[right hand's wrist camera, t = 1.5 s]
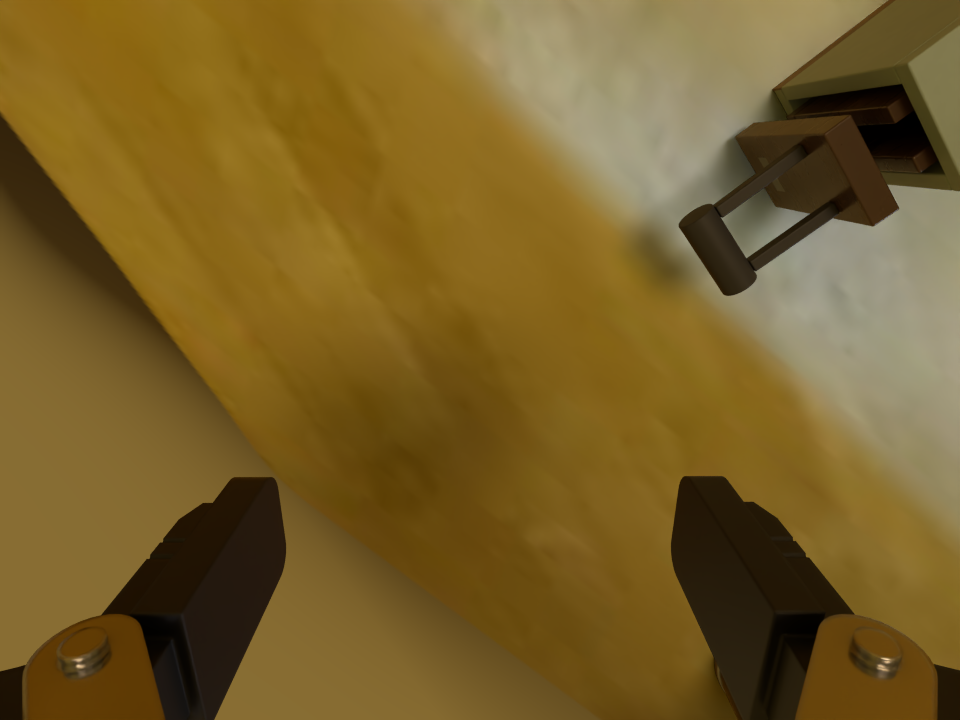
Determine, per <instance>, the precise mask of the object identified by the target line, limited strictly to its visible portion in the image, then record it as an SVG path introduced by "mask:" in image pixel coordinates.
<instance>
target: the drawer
mask: <svg viewBox="0 0 960 720" xmlns="http://www.w3.org/2000/svg"><path fill="white" fill-rule="evenodd" d="M787 119H788V120H782V121H770V122H758V123H753V124H752V125H750V126H749V127H748V128H746V129H745V130H744V131H742V132H741V133H740V134H738V135H737V136H736V137H735V139H736V140H737V142H738V144H739V145H740V147H741V149H742V150H743V152H744V154H745V156H746V157H747V159H748V161H749V162H750V164H751V166H752V167H753V169H754V171H755V172H756V174H755V175H753V176H752V177H751V178H749V179H748V180H747V181H745V182H744V183H743V184H741V185H740V186H738V187H737V188H736V189H734V190H733V191H732V192H730V193H729V194H728V195H726V196H725V197H723V198H722V199H721V200H719V201H718V202H717V203H715V204H714V205H712V204H706V205H703V206H700V207H698V208H696V209H695V210H693V211H692V212H690V213H689V214H687V215H686V216H685V217H684V218H683V219H682V220H681V221H680V223H679V228H680V229H681V231H682V232H683V234H684V235H685V237H686V238H687V240H688V241H689V243H690V244H691V246H692V247H693V249H694V250H695V252H696V254H697V255H698V257H699V258H700V260H701V261H702V263H703V264H704V266H705V267H706V269H707V270H708V272H709V273H710V275H711V276H712V278H713V279H714V281H715V282H716V284H717V286H718V287H719V289H720V290H721V292H722V293H723V294H724V295H726V296H731V295H735V294H738V293H740V292H742V291H744V290H746V289H747V288H749V287H750V286H751V285H752V284H753V283H754V282H755V280H756V278H757V275H756V273H755V272H754V271H757V270H759V269H760V268H762V267H763V266H764V265H766V264H767V263H769V262H770V261H772V260H773V259H775V258H776V257H777V256H779V255H780V254H782V253H783V252H785V251H786V250H788V249H789V248H790V247H792V246H793V245H795V244H796V243H798V242H799V241H801V240H802V239H803V238H805V237H806V236H808V235H809V234H811V233H812V232H814V231H815V230H816V229H818V228H819V227H821V226H822V225H824V224H825V223H827V222H828V221H829V220H831V219H832V218H834V219H839V220H844V221H849V222H854V223H859V224H863V225H868V226H875V225H877V224H878V223H880V222H881V221H882V220H884V219H885V218H887V217H888V216H890V215H891V214H893V213H894V212H896V211H897V210H898V209H899V207H898V205H897V203H896V201H895V199H894V197H893V195H892V193H891V191H890V189H889V188H888V186H887V184H886V182H885V180H884V178H883V176H882V174H881V172H880V171H896V172H913V173H920V172H922V171H924V170H925V169H927V168H928V167H929V166H931V165H932V164H934V163H935V162H937V161H938V158H937V156H936V154H935V152H934V150H933V147H932V145H931V143H930V141H929V139H928V137H927V135H926V133H925V131H924V129H923V127H922V124H921V122H920V120H919V118H918V116H917V114H916V112H915V110H914V108H913V106H912V104H911V101H910V99H909V97H908V95H907V93H906V91H905V89H904V87H903V85H902V84H898V85H891V86H884V87H877V88H871V89H864V90H857V91H850V92H843V93H836V94H830V95H823V96H816V97H812V98H810V99H809V100H808V101H806V102H805V103H804V104H802V105H801V106H800V107H798V108H797V109H796V110H794V111H793V112H792V113H790V114H789V115H788V116H787ZM763 188H765V189H766V191H767V193H768V194H769V196H770V198H771V200H772V201H773V203H774V205H775V206H776V207H780V208H785V209H790V210H795V211H800V212H805V213H809V215H808V216H806V217H805V218H804V219H802V220H801V221H799V222H798V223H796V224H795V225H794V226H792V227H791V228H789V229H788V230H786V231H785V232H784V233H782V234H781V235H779V236H778V237H776V238H775V239H774V240H772V241H771V242H769V243H768V244H766V245H765V246H764V247H762V248H761V249H759V250H758V251H756V252H755V253H754V254H752V255H751V256H749V257H748V258H746V257H745V256H744V254H743V252H742V251H741V249H740V248H739V246H738V244H737V243H736V241H735V240H734V238H733V237H732V235H731V233H730V232H729V230H728V229H727V227H726V225H725V224H724V222H723V221H722V219H721V217H724V216H726V215H727V214H728V213H730V212H731V211H733V210H734V209H735V208H737V207H738V206H739V205H741V204H742V203H744V202H745V201H746V200H748V199H749V198H750V197H752V196H753V195H755V194H756V193H757V192H759V191H760V190H762V189H763Z"/></svg>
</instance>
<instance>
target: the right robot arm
mask: <svg viewBox="0 0 960 720" xmlns="http://www.w3.org/2000/svg"><path fill="white" fill-rule="evenodd" d="M671 555H672V562H673V567H674V571H675V574H676V576H677V578H678V580H679V583H680V585H681V587H682V589H683V591H684V593H685V596H686V598H687V600H688V602H689V604H690V606H691V609H692V611H693V613H694V615H695V617H696V620H697V622H698V624H699V626H700V628H701V630H702V633H703V635H704V637H705V639H706V641H707V643H708V646H709V648H710V650H711V652H712V654H713V656H714V659H715V672H716V676H717V679H718V681H719V683H720V685H721V687H722V689H723V690H724V692H725V693H726V695H727V697H728V700H729V702H730V704H731V706H732V708H733V711H734V713H735V715H736V717H737V719H738V720H960V670H956V669H952V668H947V667H943V666H939V665H935V664H933V662H932V661H931V659H930V658H929V656H928V655H927V654H926V653H925V652H924V650H923V649H921V648H920V647H919V646H918V645H917V644H916V643H915V642H914V641H912V640H911V639H910V638H909V637H907V636H906V635H904V634H903V633H901V632H900V631H898V630H896V629H894V628H892V627H891V626H889V625H886V624H884V623H882V622H880V621H877V620H874V619H871V618H868V617H864V616H860V615H855V614H854V613H853V612H852V610H851V609H850V608H849V607H848V605H847V604H846V603H845V602H844V600H843V599H842V598H841V597H840V595H839V594H838V593H837V592H836V590H835V589H834V588H833V587H832V585H831V584H830V583H829V582H828V581H827V579H826V578H825V577H824V576H823V574H822V573H821V572H820V571H819V569H818V568H817V567H816V566H815V564H814V563H813V562H812V561H811V559H810V558H806V553H805V552H804V551H803V549H802V548H801V547H800V546H799V545H798V543H797V542H796V541H793V537H792V536H791V535H790V533H789V532H788V531H787V530H786V528H785V527H784V526H783V525H782V523H781V522H780V521H779V520H778V518H776V517H775V516H773V515H772V514H770V513H769V512H767V511H766V510H765V509H763V508H762V507H760V506H759V505H757V504H756V503H754V502H743V500H742V499H741V498H740V496H739V495H738V494H737V492H736V491H735V490H734V488H733V487H732V486H731V484H730V483H729V482H728V480H727V479H726V478H725V477H723V476H684V477H683V478H682V479H681V481H680V484H679V490H678V497H677V504H676V511H675V518H674V526H673V533H672V540H671ZM285 557H286V540H285V534H284V527H283V520H282V512H281V505H280V499H279V491H278V486H277V483H276V480H275V479H274V478H272V477H234V478H232V479H231V480H230V481H229V482H228V483H227V485H226V486H225V488H224V489H223V490H222V491H221V493H220V494H219V495H218V497H217V498H216V499H215V501H214V502H213V503H202V504H201V505H199V506H198V507H197V508H195V509H194V510H192V511H191V512H189V513H188V514H186V515H185V516H183V517H182V518H180V519H179V520H178V521H177V523H176V524H175V525H174V526H173V527H172V529H171V530H170V531H169V532H168V534H167V535H166V536H165V537H164V539H163V543H159V545H158V546H157V547H156V548H155V550H154V551H153V552H152V553H151V555H150V559H146V561H145V562H144V563H143V564H142V566H141V567H140V568H139V569H138V571H137V572H136V573H135V574H134V575H133V577H132V578H131V579H130V580H129V582H128V583H127V584H126V585H125V587H124V588H123V589H122V590H121V591H120V593H119V594H118V595H117V596H116V598H115V599H114V600H113V601H112V602H111V604H110V605H109V606H108V607H107V609H106V610H105V611H104V612H103V614H102V615H100V616H96V617H92V618H89V619H86V620H83V621H80V622H78V623H76V624H74V625H71V626H69V627H68V628H66V629H64V630H62V631H60V632H59V633H57V634H56V635H54V636H53V637H51V638H50V639H49V640H48V641H46V642H45V643H44V644H43V645H42V646H41V647H40V648H39V649H37V651H36V652H35V653H34V654H33V655H32V656H31V658H30V659H29V661H28V662H27V664H26V665H24V666H20V667H17V668H13V669H8V670H4V671H0V720H214V719H215V717H216V715H217V713H218V710H219V708H220V706H221V704H222V702H223V700H224V698H225V695H226V693H227V691H228V689H229V687H230V685H231V682H232V680H233V678H234V676H235V674H236V672H237V670H238V667H239V665H240V663H241V661H242V659H243V657H244V654H245V652H246V650H247V648H248V646H249V644H250V642H251V640H252V637H253V635H254V633H255V631H256V629H257V627H258V625H259V622H260V620H261V618H262V616H263V614H264V612H265V609H266V607H267V605H268V603H269V601H270V599H271V597H272V594H273V592H274V590H275V588H276V586H277V584H278V582H279V579H280V577H281V575H282V572H283V568H284V564H285Z"/></svg>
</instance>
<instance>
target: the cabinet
mask: <svg viewBox="0 0 960 720" xmlns="http://www.w3.org/2000/svg"><path fill="white" fill-rule="evenodd" d="M898 84H902V85H903V87H904V89H905V91H906V93H907V95H908V97H909V99H910V101H911V104H912V106H913V108H914V110H915V112H916V114H917V116H918V118H919V120H920V122H921V124H922V127H923V129H924V131H925V133H926V135H927V137H928V139H929V141H930V143H931V145H932V147H933V150H934V152H935V154H936V156H937V158H938V161H937V162H935V163H934V164H932V165H931V166H929V167H928V168H927V169H925V170H924V171H922V172H920V173H913V172H896V171H880V172H881V174H882V176H883V178H884V180H885V182H886V184H889V185H899V186H910V187H921V188H931V189H942V190H954V191H960V0H889V1H887V2H886V3H885V4H883V5H882V6H881V7H879V8H878V9H877V10H875V11H874V12H873V13H872V14H870V15H869V16H868V17H866V18H865V19H864V20H862V21H861V22H860V23H858V24H857V25H856V26H855V27H853V28H852V29H851V30H849V31H848V32H847V33H845V34H844V35H843V36H841V37H840V38H839V39H838V40H836V41H835V42H834V43H832V44H831V45H830V46H828V47H827V48H826V49H824V50H823V51H822V52H821V53H819V54H818V55H817V56H815V57H814V58H813V59H811V60H810V61H809V62H807V63H806V64H805V65H804V66H802V67H801V68H800V69H798V70H797V71H796V72H794V73H793V74H792V75H790V76H789V77H788V78H787V79H785V80H784V81H783V82H781V83H780V84H779V85H777V86H776V87H775V88H773V89H772V90H773V91H775V93H776V95H777V97H778V99H779V100H780V102H781V104H782V106H783V108H784V109H785V111H786V113H787V115H789V114H790V113H792V112H793V111H794V110H796V109H797V108H798V107H800V106H801V105H802V104H804V103H805V102H806V101H808V100H809V99H810V98H812V97H816V96H823V95H830V94H836V93H843V92H850V91H857V90H864V89H871V88H877V87H884V86H891V85H898Z"/></svg>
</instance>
